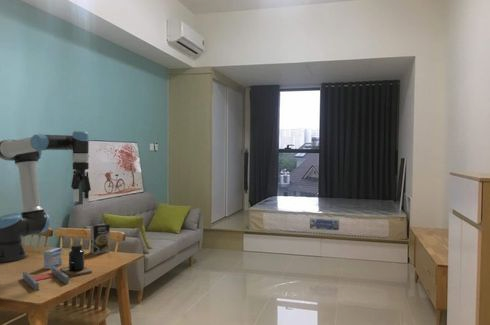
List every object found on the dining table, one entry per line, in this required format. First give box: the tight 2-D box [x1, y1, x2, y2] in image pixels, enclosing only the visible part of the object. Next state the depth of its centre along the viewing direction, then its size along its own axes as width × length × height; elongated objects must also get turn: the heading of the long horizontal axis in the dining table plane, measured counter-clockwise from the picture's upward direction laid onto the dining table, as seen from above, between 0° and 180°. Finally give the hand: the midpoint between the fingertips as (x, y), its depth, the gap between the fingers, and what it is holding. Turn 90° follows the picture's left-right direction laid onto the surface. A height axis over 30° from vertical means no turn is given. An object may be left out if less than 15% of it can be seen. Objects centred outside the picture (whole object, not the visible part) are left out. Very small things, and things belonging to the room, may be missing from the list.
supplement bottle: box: [68, 243, 85, 272], centre depth 189 cm, size 7×7×12 cm
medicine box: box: [43, 247, 63, 270], centre depth 197 cm, size 8×4×9 cm, turn 168°
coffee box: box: [89, 222, 111, 255], centre depth 225 cm, size 9×6×16 cm
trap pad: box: [32, 272, 55, 282], centre depth 180 cm, size 6×9×1 cm, turn 133°
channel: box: [22, 266, 70, 291], centre depth 176 cm, size 20×13×3 cm
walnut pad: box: [59, 265, 93, 278], centre depth 190 cm, size 14×10×1 cm
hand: (80, 203), depth 200 cm, fingers open, 13 cm apart
